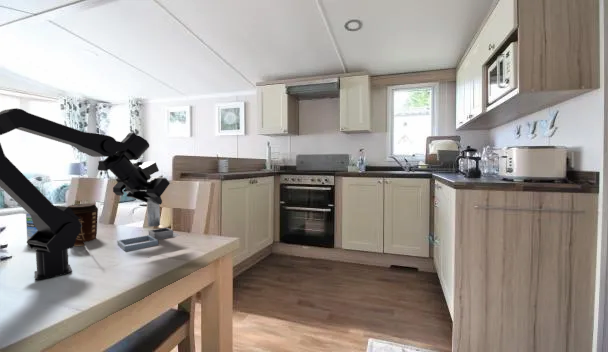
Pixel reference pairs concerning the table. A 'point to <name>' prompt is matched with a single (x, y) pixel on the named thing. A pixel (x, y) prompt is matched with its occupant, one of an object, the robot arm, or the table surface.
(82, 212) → the coffee cup
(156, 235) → the square socket base
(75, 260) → the table surface
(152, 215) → the stop pin
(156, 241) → the tray
